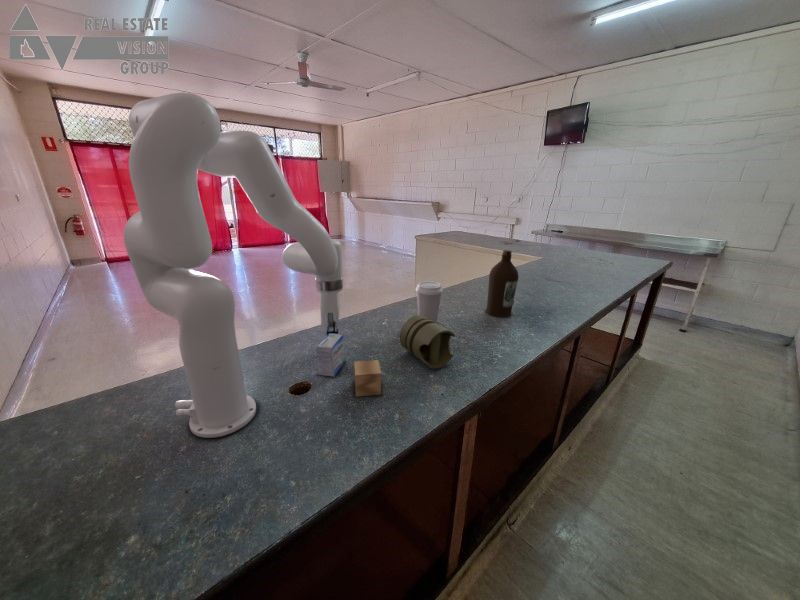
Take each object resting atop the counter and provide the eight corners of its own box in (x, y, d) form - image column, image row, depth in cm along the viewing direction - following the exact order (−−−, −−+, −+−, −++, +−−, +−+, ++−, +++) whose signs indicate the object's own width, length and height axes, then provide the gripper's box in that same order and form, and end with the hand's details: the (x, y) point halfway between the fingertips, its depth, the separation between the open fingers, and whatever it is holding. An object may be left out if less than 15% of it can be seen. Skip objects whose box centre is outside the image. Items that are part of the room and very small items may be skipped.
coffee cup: (411, 327, 111) (413, 287, 106) (416, 317, 120) (418, 279, 114) (438, 331, 109) (441, 290, 104) (441, 320, 118) (444, 281, 112)
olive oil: (479, 311, 127) (486, 249, 118) (496, 306, 133) (504, 247, 124) (501, 320, 119) (510, 255, 110) (517, 314, 125) (528, 252, 116)
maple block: (355, 396, 75) (355, 375, 73) (354, 381, 80) (354, 361, 78) (380, 394, 76) (381, 373, 74) (378, 380, 81) (378, 359, 79)
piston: (423, 373, 85) (425, 336, 81) (399, 354, 94) (400, 319, 90) (454, 362, 90) (458, 326, 86) (428, 344, 100) (431, 311, 96)
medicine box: (333, 377, 82) (332, 348, 79) (317, 375, 83) (315, 346, 80) (344, 361, 89) (343, 334, 86) (330, 359, 90) (328, 332, 87)
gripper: (317, 276, 94) (321, 331, 101) (313, 293, 81) (318, 355, 87) (343, 276, 96) (345, 330, 102) (343, 292, 82) (345, 354, 88)
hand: (333, 342), depth 95 cm, fingers closed
